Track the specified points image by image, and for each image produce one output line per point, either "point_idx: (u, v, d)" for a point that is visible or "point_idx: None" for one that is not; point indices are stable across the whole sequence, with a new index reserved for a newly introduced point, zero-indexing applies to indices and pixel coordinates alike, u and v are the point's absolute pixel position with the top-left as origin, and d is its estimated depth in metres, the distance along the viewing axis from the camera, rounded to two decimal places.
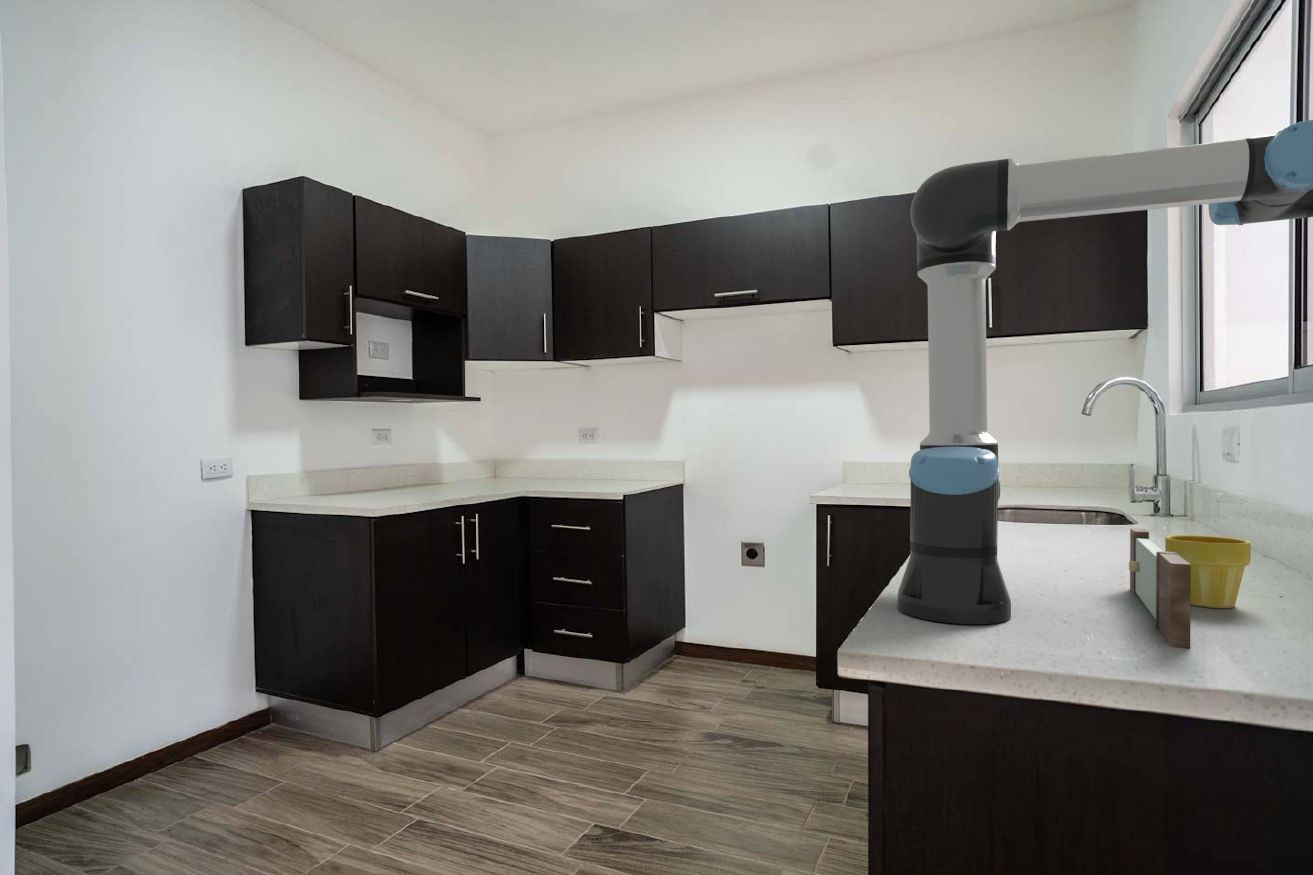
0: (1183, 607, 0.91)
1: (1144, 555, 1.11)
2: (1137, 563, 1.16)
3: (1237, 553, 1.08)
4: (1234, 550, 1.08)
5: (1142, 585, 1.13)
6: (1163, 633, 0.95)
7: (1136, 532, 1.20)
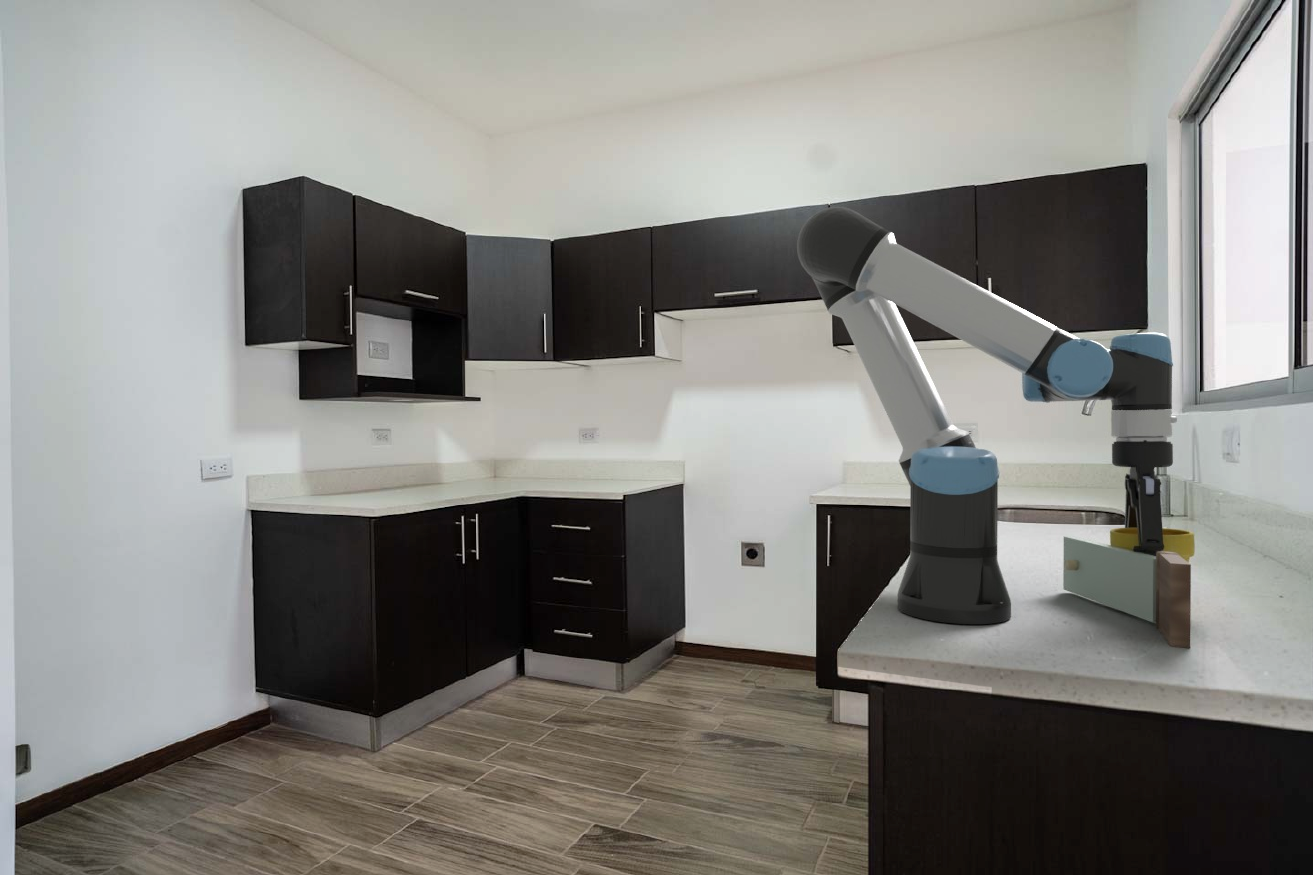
0: (1183, 607, 0.91)
1: (1098, 554, 1.12)
2: (1076, 562, 1.17)
3: (1186, 544, 1.06)
4: (1183, 541, 1.06)
5: (1091, 584, 1.14)
6: (1163, 633, 0.95)
7: None
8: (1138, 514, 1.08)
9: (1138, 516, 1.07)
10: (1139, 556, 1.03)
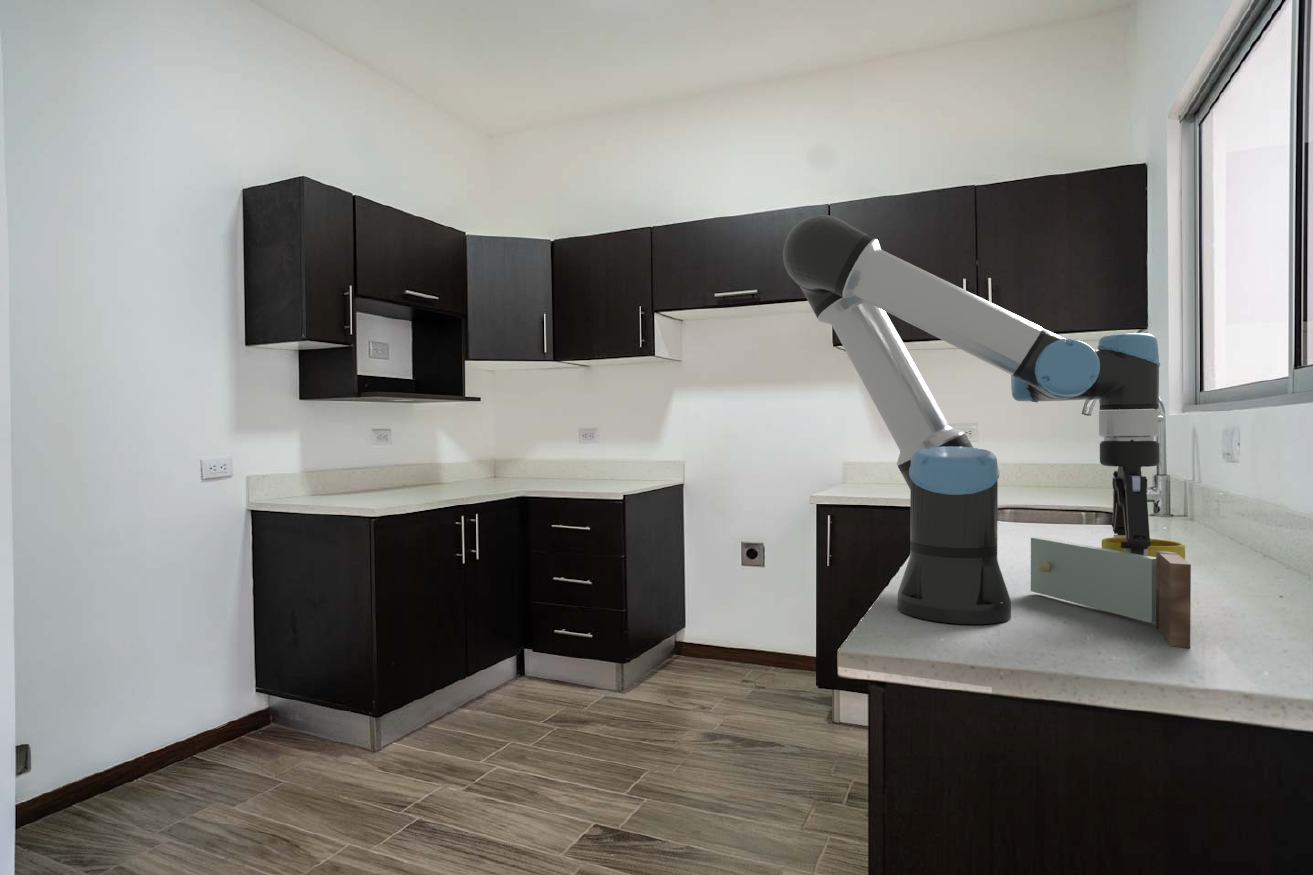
0: (1183, 607, 0.91)
1: (1078, 555, 1.11)
2: (1048, 563, 1.16)
3: None
4: None
5: (1068, 585, 1.13)
6: (1163, 633, 0.95)
7: None
8: (1125, 511, 1.08)
9: (1125, 513, 1.08)
10: (1133, 556, 1.03)
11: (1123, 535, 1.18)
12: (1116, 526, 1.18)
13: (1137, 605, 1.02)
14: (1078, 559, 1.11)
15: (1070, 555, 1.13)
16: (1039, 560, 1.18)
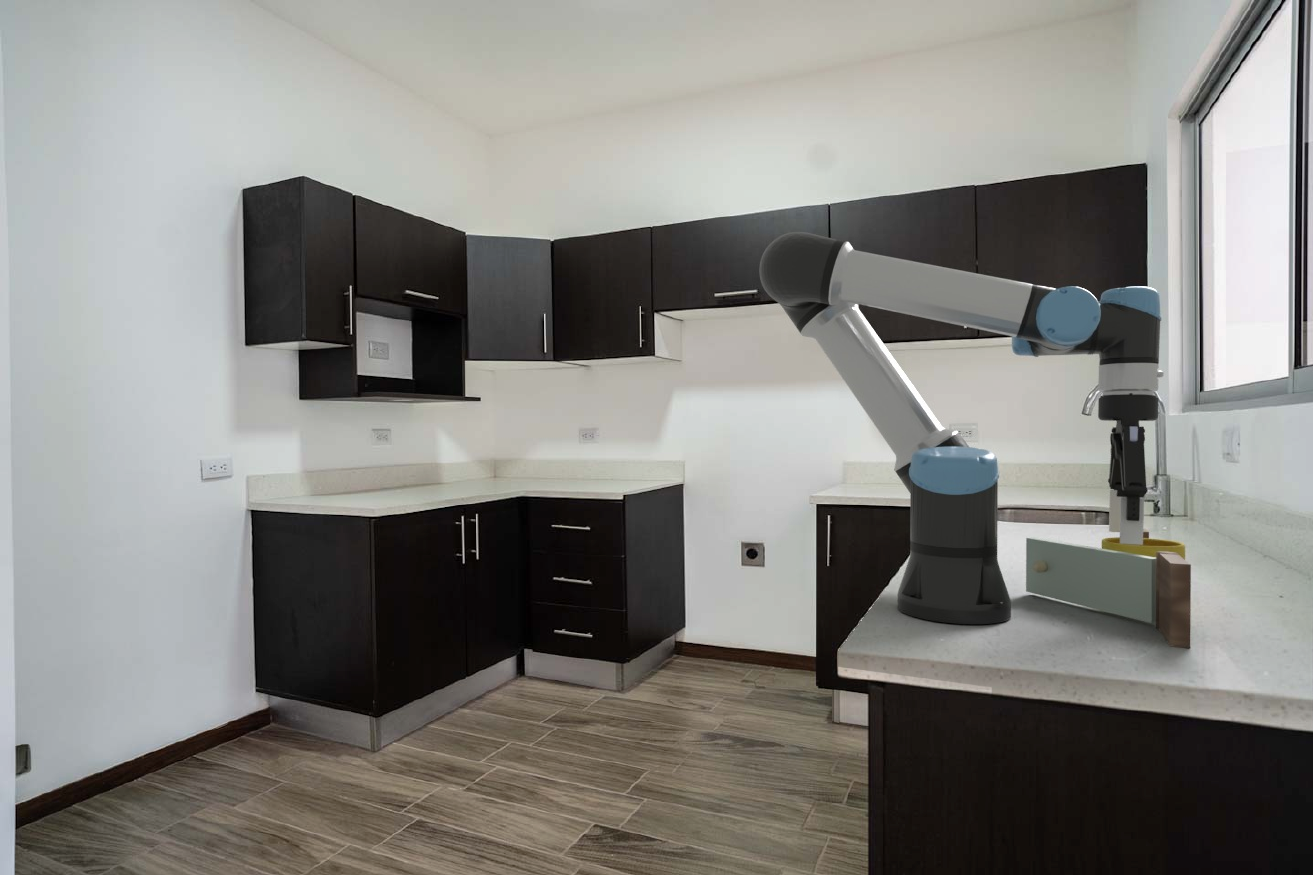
0: (1183, 607, 0.91)
1: (1075, 555, 1.11)
2: (1045, 563, 1.16)
3: None
4: None
5: (1065, 585, 1.13)
6: (1163, 633, 0.95)
7: None
8: (1122, 462, 1.08)
9: (1122, 464, 1.07)
10: (1132, 557, 1.03)
11: (1119, 490, 1.18)
12: (1112, 481, 1.18)
13: (1136, 605, 1.02)
14: (1075, 559, 1.11)
15: (1067, 555, 1.12)
16: (1035, 560, 1.18)
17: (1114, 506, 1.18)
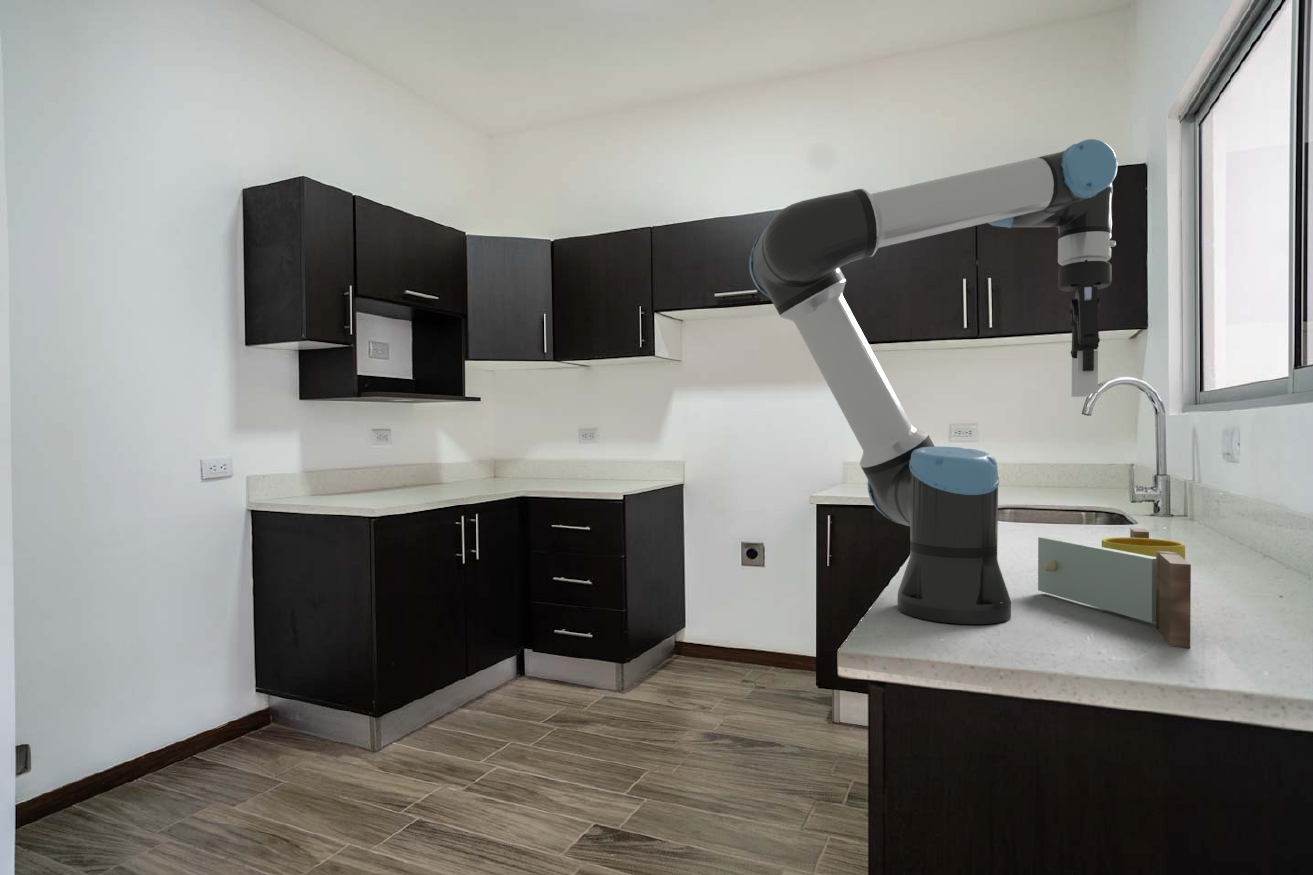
0: (1183, 607, 0.91)
1: (1082, 555, 1.12)
2: (1054, 562, 1.17)
3: None
4: None
5: (1073, 584, 1.13)
6: (1163, 633, 0.95)
7: (1136, 532, 1.20)
8: (1079, 321, 1.19)
9: (1079, 323, 1.18)
10: (1134, 556, 1.03)
11: None
12: (1074, 350, 1.29)
13: (1138, 605, 1.02)
14: (1083, 559, 1.12)
15: (1075, 555, 1.13)
16: (1046, 560, 1.19)
17: (1075, 373, 1.29)
